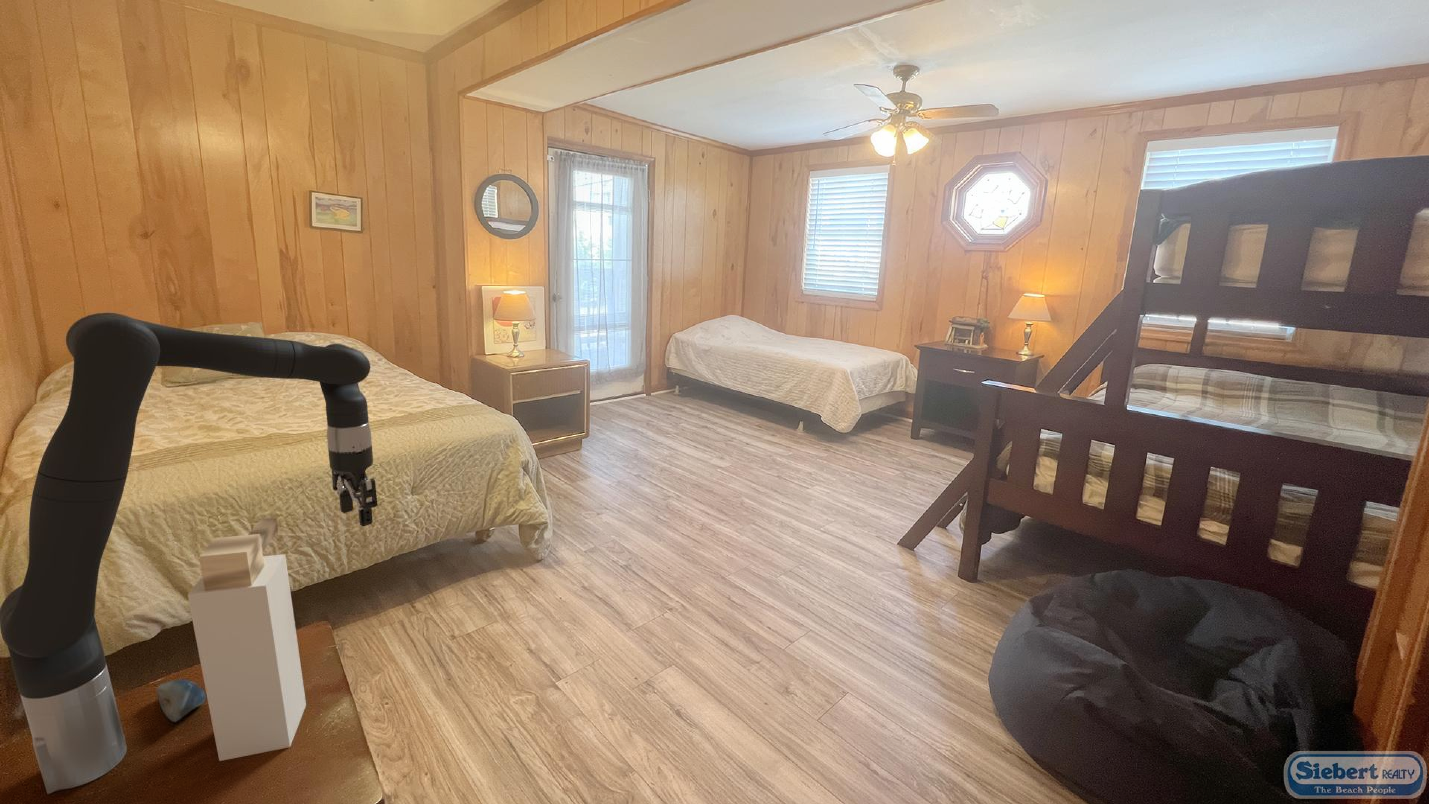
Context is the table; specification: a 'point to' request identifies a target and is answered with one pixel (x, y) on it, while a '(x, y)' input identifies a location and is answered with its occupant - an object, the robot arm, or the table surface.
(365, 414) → the robot arm
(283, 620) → the stand
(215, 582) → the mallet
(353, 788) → the table surface
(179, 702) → the blue rounded lump
